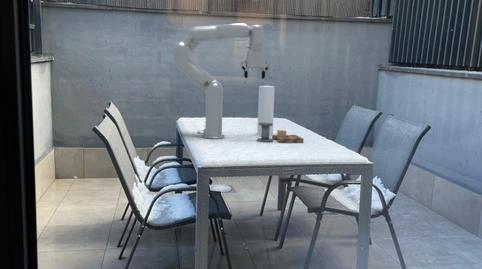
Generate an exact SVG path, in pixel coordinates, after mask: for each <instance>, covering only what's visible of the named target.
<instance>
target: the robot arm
mask: <svg viewBox="0 0 482 269" xmlns="http://www.w3.org/2000/svg"><path fill="white" fill-rule="evenodd" d="M233 38H234V39H236V38H237V39H238V38H240V39H248V38H249V39H248V45H247V44H246V48H248V50H247V52H246V58H245V60H243V61H242V62H239V65H240V67H241V69H242V70H243V71H244V72H243V74H244V75H243V76H244V79H248V77H249V76H248V73H249V72H248V70H249V68H250V69H261V70H262V71H261V79H262V80H264V79H265V77H266V72H267V71H268V70H269V68H270V66H271V63H269V62H267V61H265V60H266V59H265V50H264V49H263V44H264V43H263V42H264V41H263V40H264V27H263V25H261V24H252V25H248V23H244V22H240V23H239V22H237V23H226V24H211V25H209V24H208V25H196V26H192V27H191V28H190V29H189V30H188V34H187V35H185V37H184V38H183V39H182V40H181V41H178V42H176V43H175V44H174V47H173V48H172V59H173V62H174V64H175V66H176V68H178V70H180V71H181V72H182V73H183V74H184V75H185V76H186V77H187V78H188V79H189V80H191V81H192V82H193V83H194V85H195V86H197V87H199V88H200V89H201V90H202V91H204V92H205V128H203V129H202V130H199V129H198V130H197V131H196V133H197V134H199V135H202V138H203V139H214V140H218V139H219V140H221V139H224V138H225V134H223V106H224V104H223V101H224V87H223V85H222V84H221V82H220V81H218V80H217V79H216V78H214V76H212V75H211V74H210V73H209V72H208V71H207V70H206V69H202V68H201V67H200V66H199V65H198V64H197V63H195V61H193V60H192V59H191V58H190V55H191V54H192V52H194V50H196V48H197V47H198V46H199V45H200V44H201V43H202V42H214V41H215V42H216V41H222V40H225V39H233ZM244 65H245V66H244Z"/></svg>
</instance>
